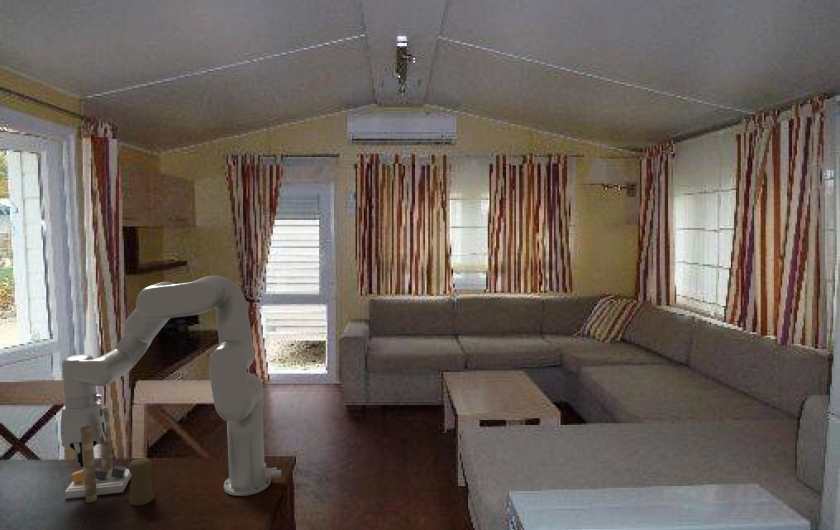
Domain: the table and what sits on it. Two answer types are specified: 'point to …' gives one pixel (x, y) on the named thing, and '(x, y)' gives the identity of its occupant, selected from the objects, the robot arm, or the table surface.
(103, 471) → the grey block
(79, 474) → the orange block
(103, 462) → the post far
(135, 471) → the cork
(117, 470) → the grey block
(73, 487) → the panel
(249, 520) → the table surface
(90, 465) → the post near
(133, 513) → the table surface
